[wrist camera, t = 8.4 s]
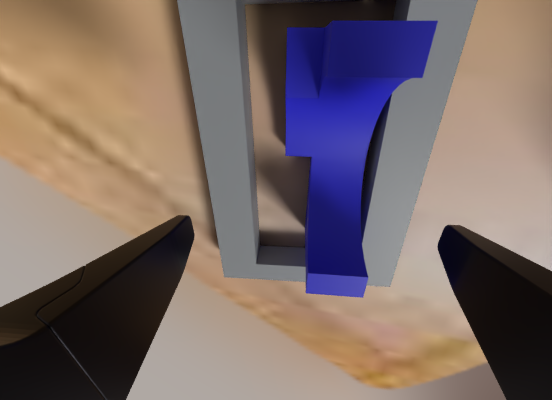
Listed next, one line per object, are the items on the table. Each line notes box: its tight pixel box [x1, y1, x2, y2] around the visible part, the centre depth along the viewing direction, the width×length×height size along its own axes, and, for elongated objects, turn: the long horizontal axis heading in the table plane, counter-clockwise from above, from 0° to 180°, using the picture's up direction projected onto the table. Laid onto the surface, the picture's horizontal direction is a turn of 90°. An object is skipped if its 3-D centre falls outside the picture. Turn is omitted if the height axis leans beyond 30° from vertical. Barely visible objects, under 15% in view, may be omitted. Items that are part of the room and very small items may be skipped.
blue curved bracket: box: [286, 21, 438, 297], centre depth 13 cm, size 12×4×6 cm, turn 0°
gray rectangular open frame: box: [177, 0, 477, 287], centre depth 15 cm, size 12×18×2 cm, turn 1°
